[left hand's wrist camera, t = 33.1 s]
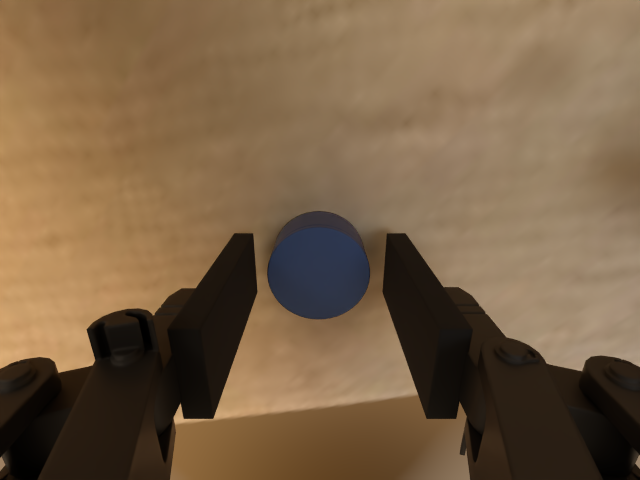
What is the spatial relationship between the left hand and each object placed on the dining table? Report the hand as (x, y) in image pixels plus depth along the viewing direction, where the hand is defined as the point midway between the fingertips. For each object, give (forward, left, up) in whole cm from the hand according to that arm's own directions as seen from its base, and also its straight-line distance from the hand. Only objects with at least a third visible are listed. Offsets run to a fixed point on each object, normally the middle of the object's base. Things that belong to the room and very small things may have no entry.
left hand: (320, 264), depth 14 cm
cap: (0, 0, +1) cm, 1 cm away
